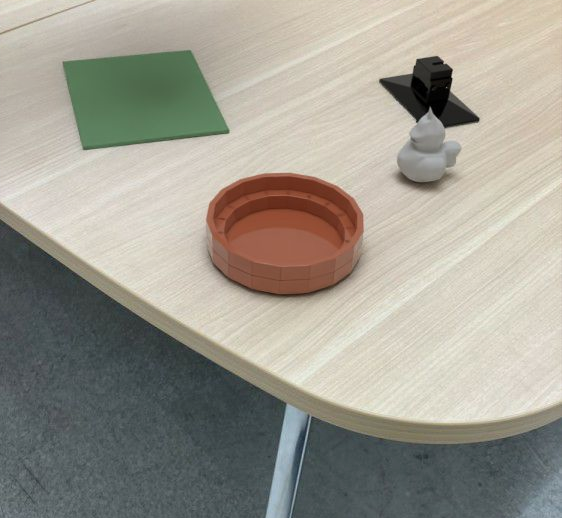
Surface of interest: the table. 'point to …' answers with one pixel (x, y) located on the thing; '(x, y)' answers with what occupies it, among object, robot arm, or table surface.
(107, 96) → the cloth
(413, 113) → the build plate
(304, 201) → the bowl
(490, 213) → the table surface
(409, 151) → the rubber duck
